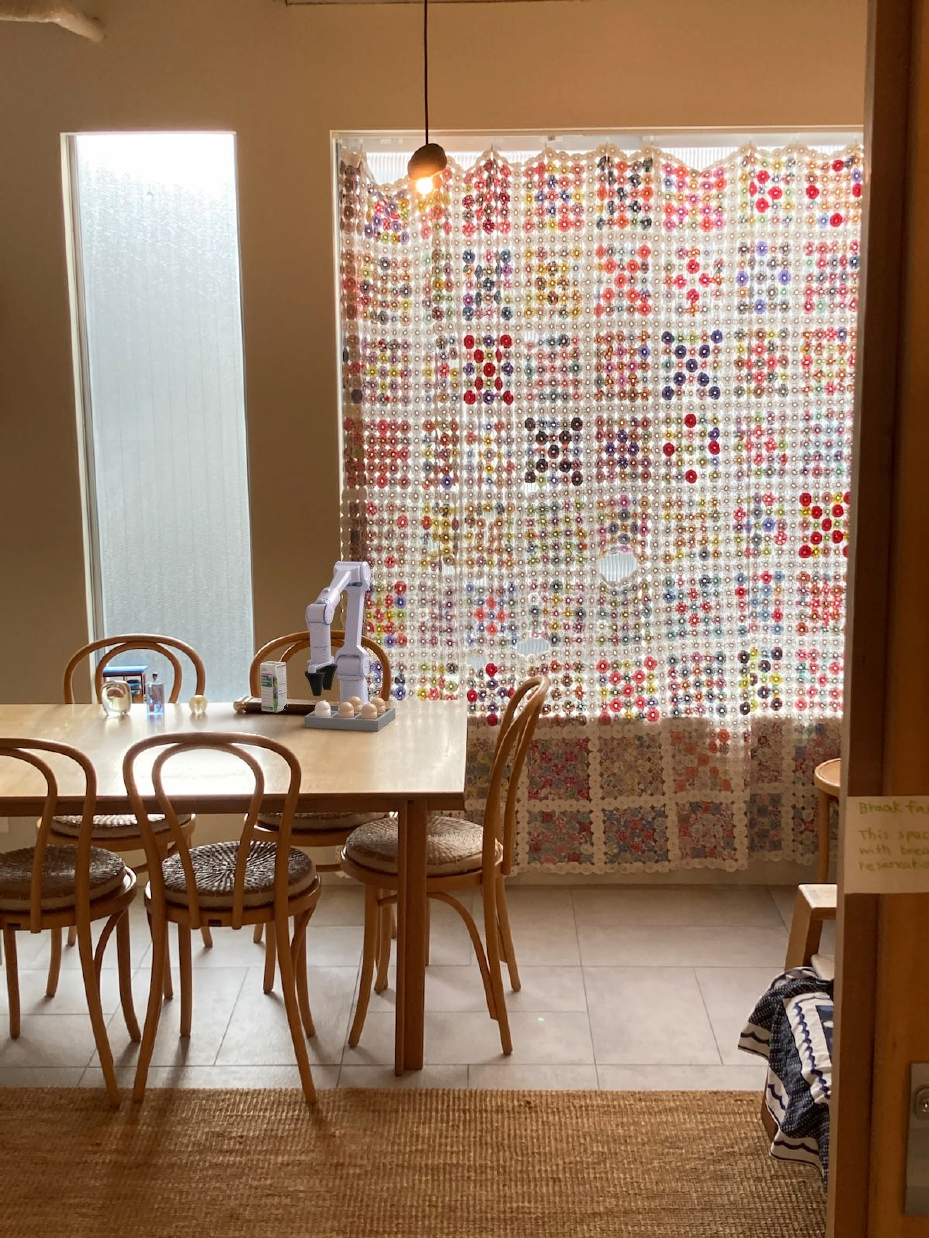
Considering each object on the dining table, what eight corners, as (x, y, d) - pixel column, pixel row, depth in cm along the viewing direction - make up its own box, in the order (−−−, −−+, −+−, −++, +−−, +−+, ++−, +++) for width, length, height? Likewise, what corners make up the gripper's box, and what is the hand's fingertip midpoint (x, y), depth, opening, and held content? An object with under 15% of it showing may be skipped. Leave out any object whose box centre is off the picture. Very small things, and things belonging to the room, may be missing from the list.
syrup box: (261, 711, 347) (258, 663, 344) (273, 706, 352) (271, 659, 349) (276, 712, 344) (274, 665, 342) (288, 708, 349) (286, 661, 347)
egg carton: (324, 714, 341) (324, 691, 340) (395, 718, 336) (394, 695, 335) (304, 726, 327) (303, 703, 326) (378, 731, 321) (377, 707, 320)
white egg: (318, 719, 332) (318, 698, 331) (333, 720, 331) (332, 699, 330) (312, 723, 328) (312, 702, 327) (327, 724, 327) (326, 703, 326)
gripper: (317, 640, 334) (318, 686, 336) (297, 650, 320) (299, 697, 323) (340, 641, 332) (341, 687, 335) (320, 651, 318) (322, 699, 321)
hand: (322, 692), depth 328 cm, fingers open, 7 cm apart
